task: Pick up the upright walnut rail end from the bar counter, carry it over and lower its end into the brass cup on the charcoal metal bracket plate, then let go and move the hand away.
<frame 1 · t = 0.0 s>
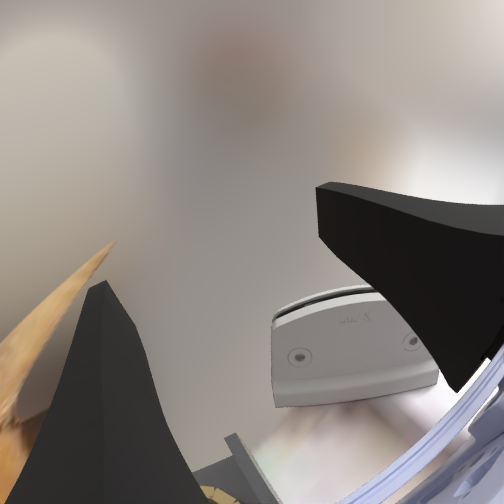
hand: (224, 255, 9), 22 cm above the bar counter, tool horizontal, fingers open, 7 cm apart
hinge: (354, 368, 28), on the bar counter
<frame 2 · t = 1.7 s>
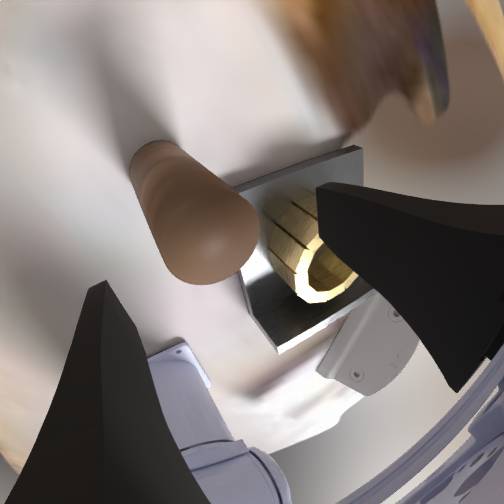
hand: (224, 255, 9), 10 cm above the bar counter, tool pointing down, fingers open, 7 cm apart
cup bracket: (301, 233, 25), on the bar counter
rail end: (158, 169, 17), on the bar counter
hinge: (357, 322, 39), on the bar counter
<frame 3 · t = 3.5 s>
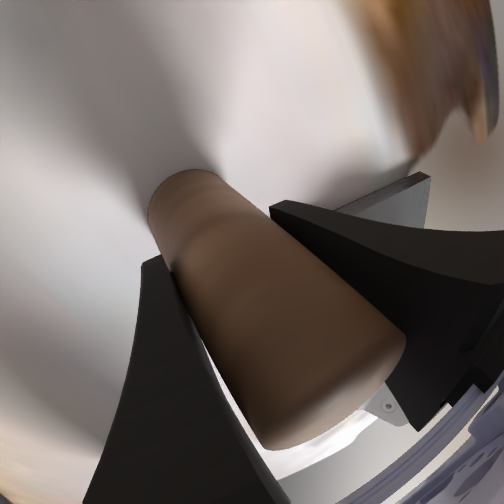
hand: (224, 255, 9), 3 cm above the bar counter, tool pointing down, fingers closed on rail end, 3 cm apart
cup bracket: (356, 276, 20), on the bar counter
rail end: (191, 211, 12), on the bar counter, touching gripper
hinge: (390, 352, 34), on the bar counter
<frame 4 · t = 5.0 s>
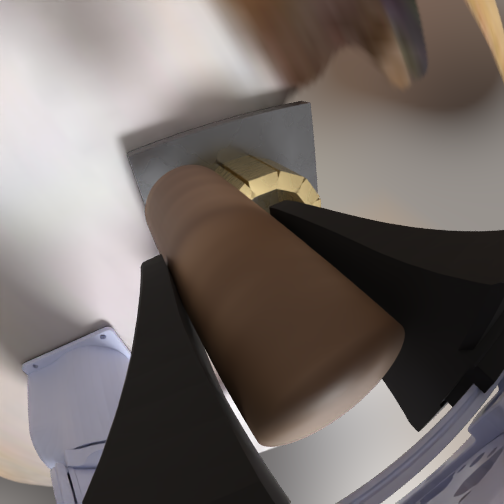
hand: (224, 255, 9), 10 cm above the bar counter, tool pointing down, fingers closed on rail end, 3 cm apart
cup bracket: (238, 203, 21), on the bar counter
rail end: (188, 207, 12), point 7 cm above the bar counter, touching gripper
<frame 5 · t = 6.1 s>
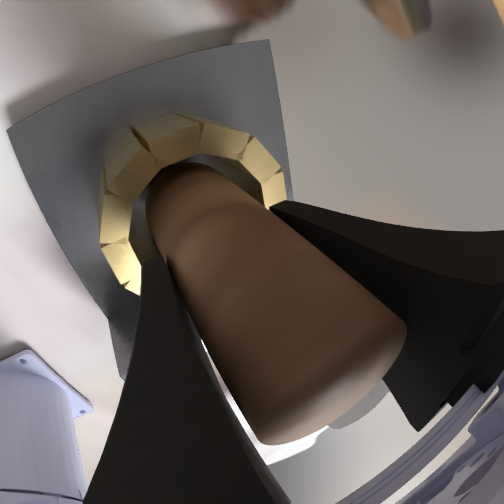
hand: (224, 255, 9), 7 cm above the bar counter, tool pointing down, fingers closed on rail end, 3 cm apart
cup bracket: (171, 186, 14), on the bar counter
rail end: (188, 205, 12), point 3 cm above the bar counter, touching gripper
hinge: (320, 329, 28), on the bar counter
when the fingers open (6 cm above the bar counter, at t = 6.9 s): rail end drops 2 cm, resting on cup bracket.
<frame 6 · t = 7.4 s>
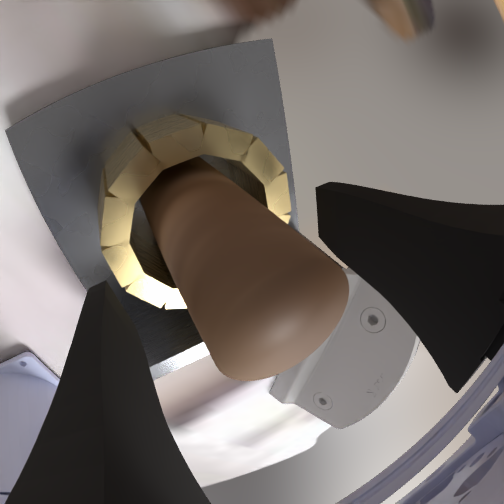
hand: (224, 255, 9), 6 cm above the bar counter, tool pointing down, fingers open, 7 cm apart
cup bracket: (173, 187, 14), on the bar counter
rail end: (177, 189, 13), point 1 cm above the bar counter, touching cup bracket
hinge: (323, 329, 28), on the bar counter
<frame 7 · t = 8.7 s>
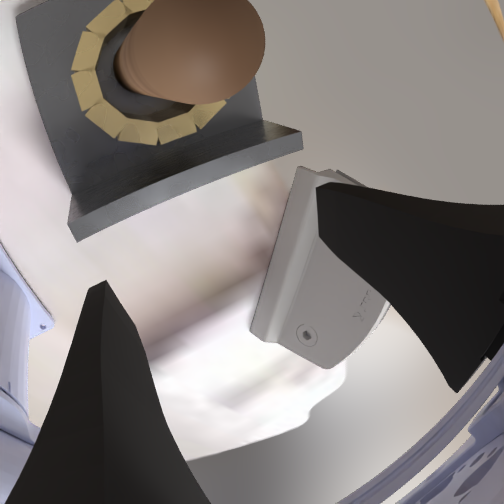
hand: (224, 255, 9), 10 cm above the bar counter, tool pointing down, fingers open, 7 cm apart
cup bracket: (143, 68, 14), on the bar counter
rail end: (145, 62, 13), point 1 cm above the bar counter, touching cup bracket
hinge: (304, 255, 28), on the bar counter
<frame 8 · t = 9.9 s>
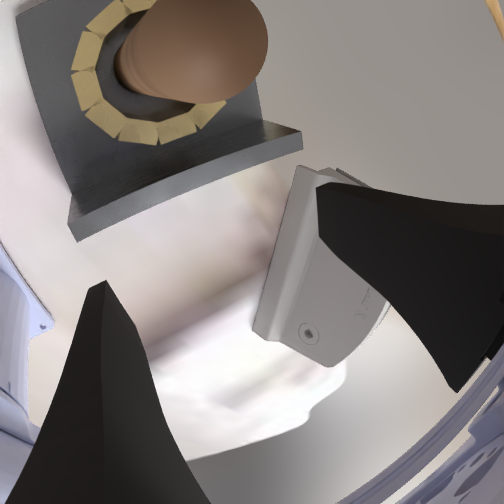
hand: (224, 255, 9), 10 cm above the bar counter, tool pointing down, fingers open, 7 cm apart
cup bracket: (143, 68, 14), on the bar counter
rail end: (145, 62, 13), point 1 cm above the bar counter, touching cup bracket
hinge: (305, 254, 28), on the bar counter
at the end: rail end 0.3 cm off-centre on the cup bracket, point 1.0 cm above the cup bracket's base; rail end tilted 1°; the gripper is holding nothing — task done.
